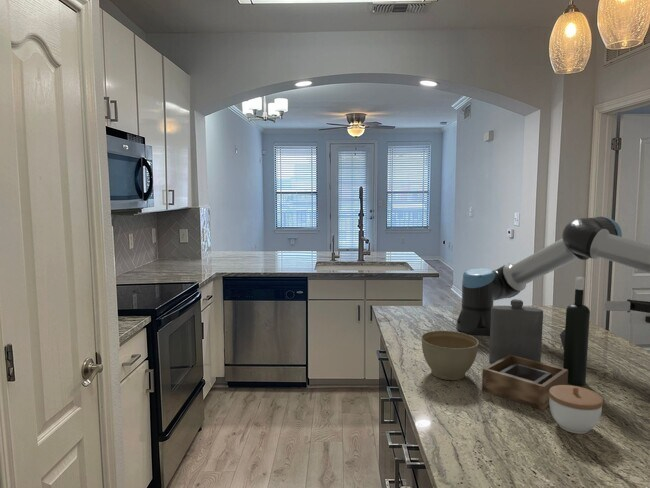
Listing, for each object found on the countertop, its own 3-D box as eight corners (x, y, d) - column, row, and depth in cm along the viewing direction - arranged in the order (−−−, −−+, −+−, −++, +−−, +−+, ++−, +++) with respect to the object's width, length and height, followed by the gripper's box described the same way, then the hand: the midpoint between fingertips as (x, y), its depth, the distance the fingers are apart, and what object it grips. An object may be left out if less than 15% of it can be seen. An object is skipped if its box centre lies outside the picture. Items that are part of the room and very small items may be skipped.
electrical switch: (578, 361, 144) (577, 332, 144) (560, 359, 148) (558, 331, 147) (583, 353, 152) (582, 326, 151) (566, 351, 155) (565, 324, 154)
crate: (481, 390, 123) (482, 368, 123) (508, 374, 134) (509, 354, 134) (542, 410, 112) (544, 386, 111) (567, 391, 123) (568, 369, 122)
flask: (538, 361, 144) (541, 299, 142) (542, 368, 139) (545, 304, 136) (488, 357, 148) (490, 297, 146) (489, 364, 142) (492, 301, 140)
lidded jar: (538, 416, 109) (540, 378, 108) (580, 414, 110) (583, 377, 109) (565, 440, 98) (567, 399, 97) (612, 438, 99) (615, 397, 98)
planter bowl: (437, 389, 124) (438, 350, 123) (411, 367, 140) (411, 332, 138) (489, 382, 128) (490, 345, 127) (457, 362, 144) (458, 328, 143)
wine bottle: (562, 383, 128) (568, 277, 124) (562, 376, 133) (568, 274, 129) (585, 387, 125) (592, 279, 122) (585, 380, 130) (591, 276, 127)
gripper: (736, 341, 110) (642, 338, 113) (671, 315, 135) (595, 313, 138) (739, 311, 110) (644, 309, 112) (673, 290, 134) (596, 289, 137)
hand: (617, 311), depth 125 cm, fingers open, 13 cm apart
